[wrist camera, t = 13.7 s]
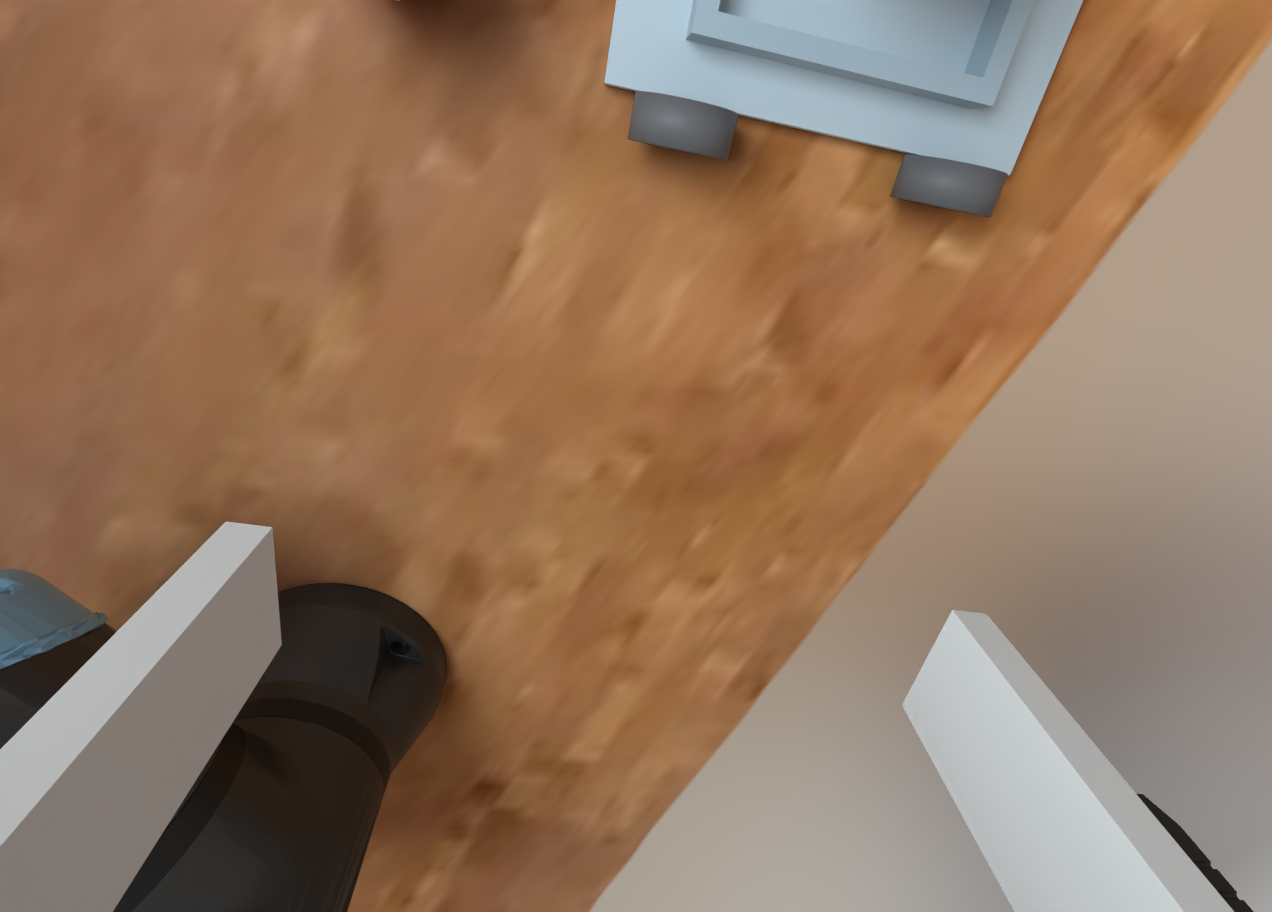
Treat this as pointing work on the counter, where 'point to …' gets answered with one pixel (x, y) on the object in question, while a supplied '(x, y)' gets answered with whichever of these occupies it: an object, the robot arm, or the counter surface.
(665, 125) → the chassis
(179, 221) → the counter surface
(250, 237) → the counter surface
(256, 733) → the robot arm
